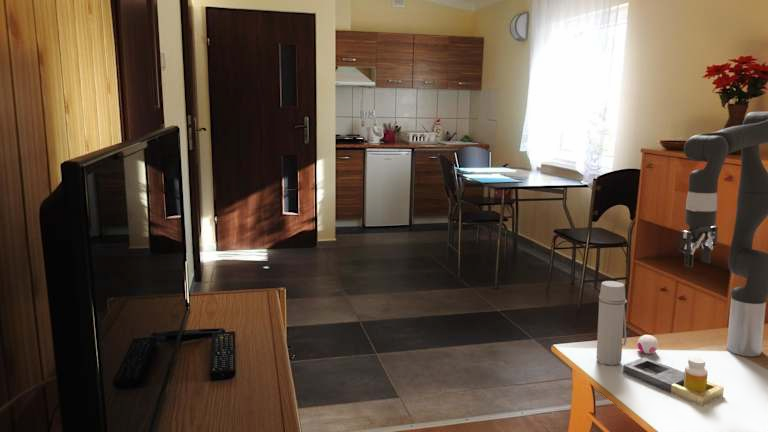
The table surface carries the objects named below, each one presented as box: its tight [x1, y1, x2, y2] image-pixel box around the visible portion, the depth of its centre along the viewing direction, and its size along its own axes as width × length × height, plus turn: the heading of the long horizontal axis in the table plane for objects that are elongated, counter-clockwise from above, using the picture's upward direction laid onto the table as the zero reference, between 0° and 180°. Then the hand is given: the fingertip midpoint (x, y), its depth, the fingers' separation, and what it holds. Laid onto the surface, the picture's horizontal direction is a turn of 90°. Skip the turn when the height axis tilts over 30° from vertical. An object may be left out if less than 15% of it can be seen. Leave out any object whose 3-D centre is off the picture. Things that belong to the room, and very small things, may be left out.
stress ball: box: [637, 334, 659, 355], centre depth 179 cm, size 8×8×7 cm
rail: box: [622, 357, 725, 407], centre depth 158 cm, size 10×24×2 cm, turn 31°
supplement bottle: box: [684, 356, 708, 394], centre depth 152 cm, size 5×5×10 cm
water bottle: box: [596, 280, 628, 366], centre depth 172 cm, size 9×8×25 cm
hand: (697, 264), depth 158 cm, fingers open, 8 cm apart
